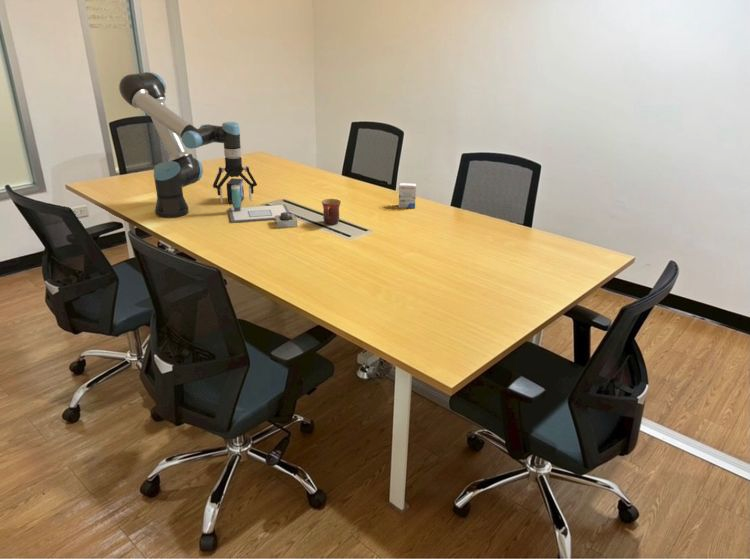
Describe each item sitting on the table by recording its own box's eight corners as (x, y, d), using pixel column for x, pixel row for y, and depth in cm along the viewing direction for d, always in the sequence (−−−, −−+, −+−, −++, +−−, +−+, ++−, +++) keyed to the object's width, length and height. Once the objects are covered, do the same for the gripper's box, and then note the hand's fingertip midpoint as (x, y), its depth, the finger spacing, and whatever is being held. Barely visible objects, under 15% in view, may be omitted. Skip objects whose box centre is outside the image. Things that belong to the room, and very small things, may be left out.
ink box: (415, 205, 292) (416, 183, 287) (414, 208, 287) (416, 186, 282) (398, 204, 293) (399, 182, 288) (398, 207, 288) (399, 185, 283)
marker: (233, 212, 271) (231, 187, 266) (232, 209, 275) (230, 185, 270) (242, 211, 273) (240, 186, 268) (241, 208, 276) (239, 184, 271)
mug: (324, 218, 269) (324, 198, 265) (342, 220, 268) (342, 199, 263) (317, 227, 258) (317, 205, 254) (336, 229, 257) (336, 207, 253)
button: (281, 222, 258) (281, 215, 256) (280, 219, 261) (280, 212, 260) (291, 221, 259) (291, 215, 257) (289, 218, 263) (289, 212, 261)
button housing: (277, 228, 256) (277, 221, 254) (274, 221, 264) (274, 215, 262) (297, 226, 258) (297, 220, 257) (294, 220, 266) (293, 214, 265)
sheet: (231, 223, 260) (231, 220, 260) (228, 209, 277) (228, 207, 277) (292, 218, 268) (292, 216, 268) (285, 206, 285) (285, 203, 285)
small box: (240, 204, 286) (238, 184, 282) (227, 203, 286) (225, 183, 282) (245, 198, 296) (243, 178, 291) (232, 197, 296) (230, 178, 291)
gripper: (205, 159, 256) (209, 204, 265) (261, 157, 263) (263, 201, 272) (204, 155, 263) (209, 200, 272) (259, 154, 270) (261, 197, 279)
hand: (236, 201), depth 272 cm, fingers open, 13 cm apart
